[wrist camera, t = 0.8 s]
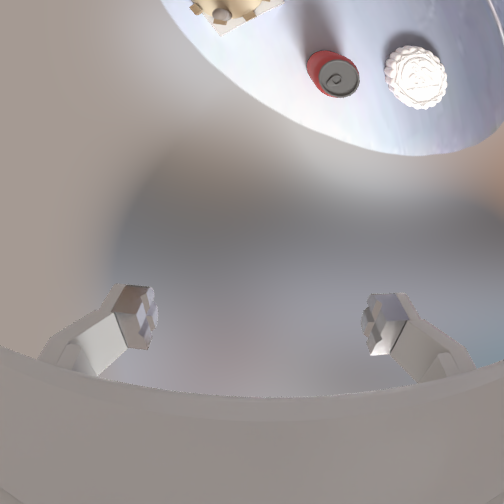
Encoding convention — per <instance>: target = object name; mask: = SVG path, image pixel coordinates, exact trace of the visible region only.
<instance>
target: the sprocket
mask: <svg viewBox="0 0 504 504" xmlns="http://www.w3.org/2000/svg"><path fill="white" fill-rule="evenodd" d="M262 1H267V2H270V0H194V2H195V4H193V5H192V6H190V7H189V8H190V9H191V10H192V11H193V12H194V14H195V15H199V14H201V13H202V12H204V13H206V14H207V15H210V16H212V17H214V22H213V24H220V25H227V21H228V20H230V19H235V18H240V17H243V18H244V19H245V20H246V21H247V22H248V21H249V20H251V19H253V18H255V17H257V16H256V14H255V13H254V12H253V11H254V10H255V9H256V8H257V7H258V6H259V5H260V4H261V2H262Z"/></svg>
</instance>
